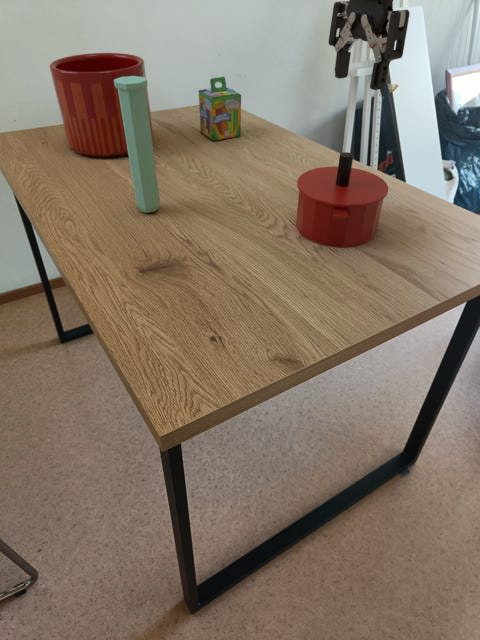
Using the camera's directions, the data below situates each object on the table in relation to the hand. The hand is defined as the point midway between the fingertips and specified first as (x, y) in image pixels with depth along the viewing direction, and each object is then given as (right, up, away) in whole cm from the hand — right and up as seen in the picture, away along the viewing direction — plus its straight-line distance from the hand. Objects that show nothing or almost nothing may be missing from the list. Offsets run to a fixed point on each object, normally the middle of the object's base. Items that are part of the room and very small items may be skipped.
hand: (357, 83), depth 73 cm
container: (-38, -15, +22) cm, 47 cm away
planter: (-55, +10, +52) cm, 76 cm away
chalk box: (-25, +15, +58) cm, 65 cm away
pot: (0, -20, +17) cm, 26 cm away
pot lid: (0, -13, +11) cm, 18 cm away
